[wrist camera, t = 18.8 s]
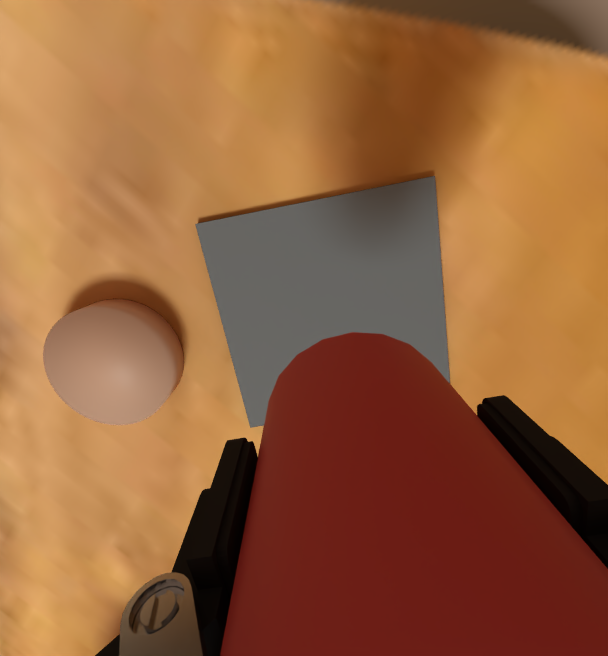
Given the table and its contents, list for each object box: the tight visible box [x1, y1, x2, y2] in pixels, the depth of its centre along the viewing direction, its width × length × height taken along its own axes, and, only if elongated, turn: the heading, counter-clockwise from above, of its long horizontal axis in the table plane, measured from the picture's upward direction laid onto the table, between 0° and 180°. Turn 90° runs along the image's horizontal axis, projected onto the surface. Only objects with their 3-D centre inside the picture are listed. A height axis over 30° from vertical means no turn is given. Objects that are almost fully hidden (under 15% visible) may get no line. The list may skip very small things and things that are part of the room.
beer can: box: [220, 332, 608, 656], centre depth 8 cm, size 7×7×12 cm
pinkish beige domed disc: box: [43, 299, 184, 425], centre depth 26 cm, size 9×9×3 cm
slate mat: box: [195, 176, 450, 428], centre depth 26 cm, size 16×16×1 cm
